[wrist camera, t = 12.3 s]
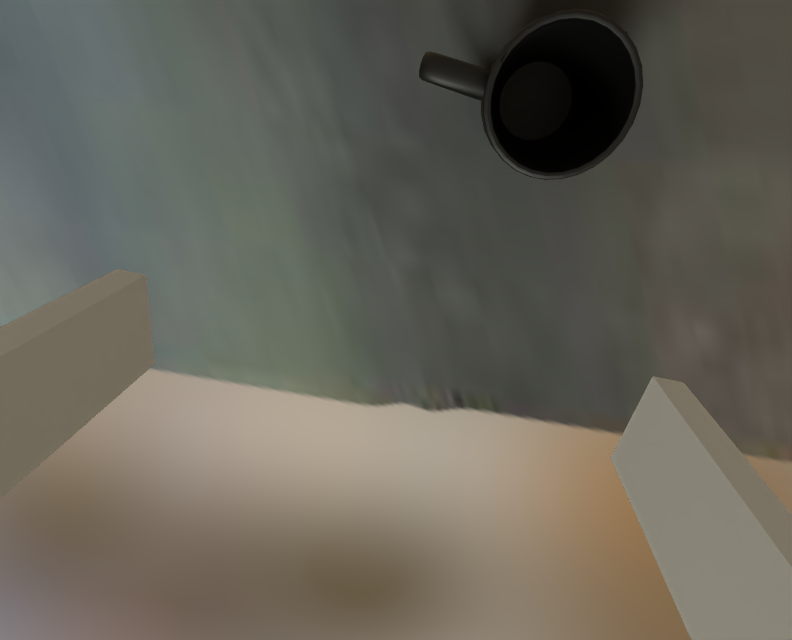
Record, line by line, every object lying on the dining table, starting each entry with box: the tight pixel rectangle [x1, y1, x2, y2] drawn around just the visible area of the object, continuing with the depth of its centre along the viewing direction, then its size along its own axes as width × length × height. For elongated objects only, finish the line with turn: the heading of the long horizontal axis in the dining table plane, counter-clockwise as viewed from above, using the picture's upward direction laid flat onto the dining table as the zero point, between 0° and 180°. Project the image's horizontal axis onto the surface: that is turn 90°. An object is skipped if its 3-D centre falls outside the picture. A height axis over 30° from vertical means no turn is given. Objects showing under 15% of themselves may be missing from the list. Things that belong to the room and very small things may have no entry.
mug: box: [419, 9, 643, 180], centre depth 28 cm, size 8×12×10 cm
